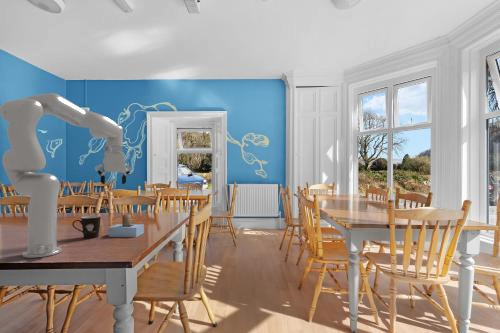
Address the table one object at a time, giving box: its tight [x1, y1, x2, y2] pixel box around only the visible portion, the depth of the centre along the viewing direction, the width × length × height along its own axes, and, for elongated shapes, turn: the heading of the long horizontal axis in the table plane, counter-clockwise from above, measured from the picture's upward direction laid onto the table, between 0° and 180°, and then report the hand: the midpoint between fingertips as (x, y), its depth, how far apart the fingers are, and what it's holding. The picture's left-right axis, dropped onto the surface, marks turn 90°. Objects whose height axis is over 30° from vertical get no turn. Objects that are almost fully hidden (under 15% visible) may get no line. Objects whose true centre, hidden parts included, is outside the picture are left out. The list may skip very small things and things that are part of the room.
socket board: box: [108, 223, 145, 238], centre depth 153 cm, size 14×9×4 cm, turn 86°
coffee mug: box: [72, 215, 102, 240], centre depth 148 cm, size 12×9×10 cm
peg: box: [121, 214, 132, 227], centre depth 153 cm, size 4×4×10 cm
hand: (113, 183), depth 152 cm, fingers open, 9 cm apart
